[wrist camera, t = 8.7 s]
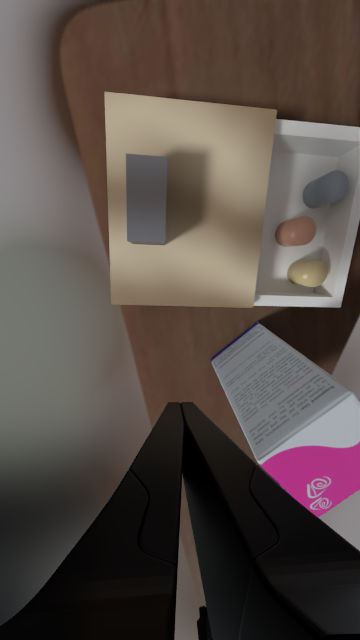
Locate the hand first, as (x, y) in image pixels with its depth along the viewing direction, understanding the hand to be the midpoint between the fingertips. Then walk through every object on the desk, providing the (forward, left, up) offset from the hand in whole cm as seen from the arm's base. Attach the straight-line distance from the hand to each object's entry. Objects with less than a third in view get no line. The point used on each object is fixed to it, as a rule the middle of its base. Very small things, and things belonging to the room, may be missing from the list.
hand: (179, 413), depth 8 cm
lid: (+8, -1, -10) cm, 13 cm away
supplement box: (-4, -8, -13) cm, 16 cm away
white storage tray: (+8, -8, -13) cm, 17 cm away
